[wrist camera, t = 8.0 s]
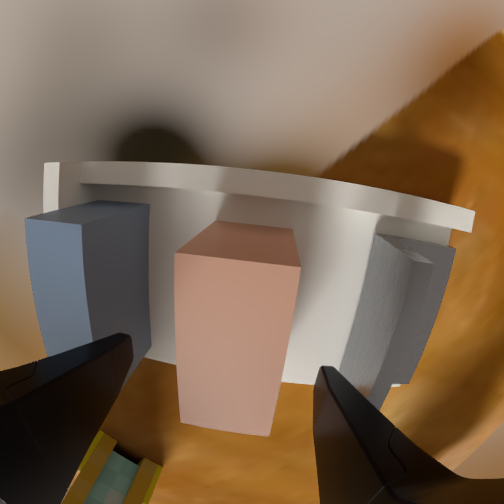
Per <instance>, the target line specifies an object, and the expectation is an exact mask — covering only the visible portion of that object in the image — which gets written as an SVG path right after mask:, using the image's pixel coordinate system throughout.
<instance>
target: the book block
mask: <svg viewBox="0 0 504 504" xmlns="http://www.w3.org/2000/svg"><path fill="white" fill-rule="evenodd" d="M300 272H301V264H300V260H299V255H298V250H297V246H296V241H295V237H294V233H293V229H289V228H280V227H271V226H263V225H253V224H244V223H235V222H225V221H214V222H213V223H212V224H210V225H209V226H208V227H206V228H205V229H204V230H202V231H201V232H200V233H199V234H197V235H196V236H195V237H193V238H192V239H191V240H190V241H188V242H187V243H186V244H185V245H183V246H182V247H181V248H180V249H178V250H177V251H176V252H175V262H174V309H175V345H176V366H177V383H178V397H179V409H180V420H181V423H185V424H190V425H195V426H200V427H205V428H211V429H216V430H222V431H229V432H235V433H243V434H251V435H260V436H269V435H270V430H271V426H272V422H273V417H274V413H275V408H276V403H277V399H278V394H279V389H280V384H281V379H282V374H283V369H284V364H285V359H286V354H287V349H288V343H289V338H290V332H291V327H292V321H293V315H294V309H295V303H296V297H297V291H298V285H299V278H300Z"/></svg>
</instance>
